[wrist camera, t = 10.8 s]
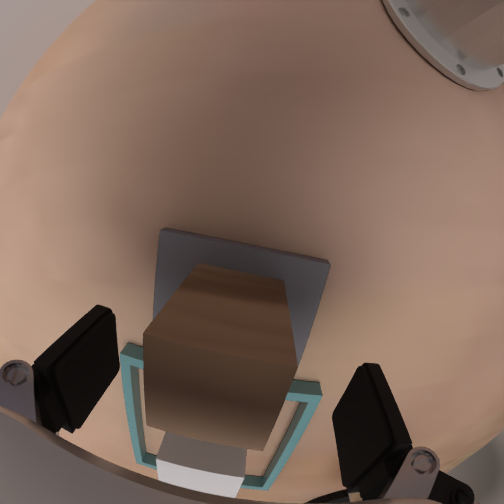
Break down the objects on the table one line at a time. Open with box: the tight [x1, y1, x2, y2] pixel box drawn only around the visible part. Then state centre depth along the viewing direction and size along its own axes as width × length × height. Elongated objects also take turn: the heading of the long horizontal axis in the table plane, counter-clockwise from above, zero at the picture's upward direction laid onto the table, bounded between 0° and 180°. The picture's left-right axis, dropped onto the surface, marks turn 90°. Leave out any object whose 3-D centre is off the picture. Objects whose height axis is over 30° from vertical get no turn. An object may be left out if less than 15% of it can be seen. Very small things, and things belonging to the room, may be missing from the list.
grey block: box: [156, 431, 247, 498], centre depth 16 cm, size 5×5×8 cm
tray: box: [120, 343, 322, 490], centre depth 20 cm, size 17×15×2 cm
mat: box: [153, 228, 331, 374], centre depth 17 cm, size 8×10×1 cm
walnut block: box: [143, 263, 298, 451], centre depth 13 cm, size 5×5×8 cm
